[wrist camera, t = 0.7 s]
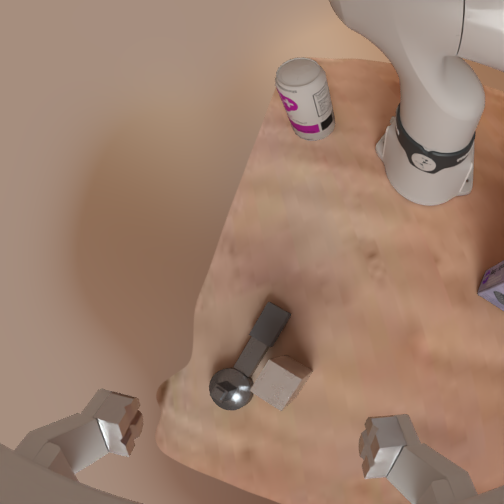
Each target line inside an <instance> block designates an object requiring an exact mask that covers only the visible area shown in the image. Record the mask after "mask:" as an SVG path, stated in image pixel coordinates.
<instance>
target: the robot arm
mask: <svg viewBox="0 0 504 504" xmlns="http://www.w3.org/2000/svg"><path fill="white" fill-rule="evenodd" d="M329 2H330V4H331V6H332V8H333V10H334V12H335V13H336V15H337V16H338V17H339V19H340V20H341V21H342V22H343V23H344V24H345V25H346V26H347V27H348V28H350V29H352V30H354V31H355V32H357V33H359V34H361V35H362V36H364V37H365V38H367V39H368V40H369V41H371V42H372V43H373V44H374V45H375V46H377V47H378V48H379V49H380V50H381V51H382V52H383V53H384V54H385V56H386V57H387V58H388V59H389V61H390V62H391V63H392V65H393V67H394V68H395V70H396V72H397V74H398V77H399V81H400V94H401V100H400V103H399V105H398V107H397V109H396V117H394V116H392V118H391V120H390V123H391V125H390V126H387V129H386V132H385V134H384V135H383V136H382V138H381V139H380V140H379V141H378V143H377V144H376V148H375V150H376V153H377V154H378V156H379V157H380V158H381V160H382V161H383V163H384V166H385V170H386V174H387V177H388V179H389V181H390V183H391V184H392V186H393V187H394V188H395V189H396V190H397V191H398V192H399V193H400V194H401V195H402V196H403V197H405V198H406V199H408V200H410V201H412V202H415V203H418V204H421V205H439V204H442V203H445V202H447V201H448V200H450V199H452V198H453V197H455V196H461V195H467V194H469V193H470V192H471V190H472V186H473V169H474V139H475V130H476V128H477V125H478V123H479V120H480V118H481V115H482V113H483V110H484V107H485V93H484V89H483V86H482V84H481V82H480V80H479V78H478V77H477V75H476V73H475V72H474V70H473V69H472V68H471V67H470V66H469V65H468V64H467V63H466V62H465V61H464V60H463V59H462V58H464V59H468V60H471V61H474V62H477V63H480V64H483V65H486V66H489V67H492V68H494V69H498V70H500V71H503V72H504V0H329ZM460 57H461V58H460ZM466 180H467V181H468V182H466ZM139 407H140V403H139V399H138V398H136V397H132V396H128V395H124V394H121V393H117V392H112V391H108V390H105V389H100V390H98V391H97V393H96V394H95V395H94V397H93V398H92V399H91V401H90V402H89V403H88V405H87V406H86V407H85V409H84V410H83V411H82V413H81V414H79V413H76V414H74V415H71V416H69V417H67V418H64V419H61V420H59V421H56V422H54V423H51V424H49V425H46V426H43V427H41V428H38V429H35V430H33V431H30V432H29V433H28V434H27V435H26V437H25V438H24V439H23V440H22V442H21V443H20V444H19V445H18V446H17V448H16V449H15V450H14V451H13V450H11V449H10V448H8V447H6V446H5V445H3V444H1V443H0V504H143V503H139V502H135V501H132V500H129V499H125V498H122V497H119V496H116V495H112V494H110V493H107V492H104V491H101V490H98V489H96V488H93V487H90V486H88V485H85V484H82V483H80V482H79V481H78V479H77V478H76V476H75V473H77V472H79V471H80V470H82V469H84V468H85V467H87V466H89V465H90V464H92V463H93V462H95V461H96V460H98V459H100V458H101V457H103V456H104V455H106V454H107V453H108V452H112V453H115V454H119V455H122V456H126V457H129V456H130V454H131V452H132V450H133V448H134V446H135V443H134V439H136V438H138V437H139V436H140V434H141V432H142V427H143V416H142V413H141V412H140V411H139V410H138V409H139ZM365 428H366V430H365V431H363V432H362V433H361V436H360V439H359V454H360V457H361V458H363V459H364V461H363V464H362V469H363V473H364V478H365V479H369V478H381V477H387V479H388V480H389V481H390V482H391V483H392V484H393V485H394V486H395V487H396V488H397V489H398V490H399V491H400V492H401V493H402V494H403V495H404V496H405V497H406V498H407V499H408V500H409V501H410V502H411V503H412V504H504V485H503V486H500V487H498V488H495V489H492V490H490V491H487V492H484V493H482V494H479V495H478V494H477V492H476V490H475V487H474V485H473V483H472V480H471V478H470V476H469V474H468V472H467V471H465V470H464V469H462V468H461V467H459V466H458V465H456V464H455V463H453V462H452V461H450V460H448V459H447V458H445V457H444V456H442V455H441V454H439V453H438V452H436V451H435V450H433V449H432V448H430V447H429V446H428V445H426V444H425V443H424V444H421V443H420V440H419V438H418V436H417V433H416V431H415V429H414V426H413V424H412V422H411V419H410V417H409V415H407V414H401V415H394V416H393V415H391V416H378V417H368V418H367V420H366V422H365Z"/></svg>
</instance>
